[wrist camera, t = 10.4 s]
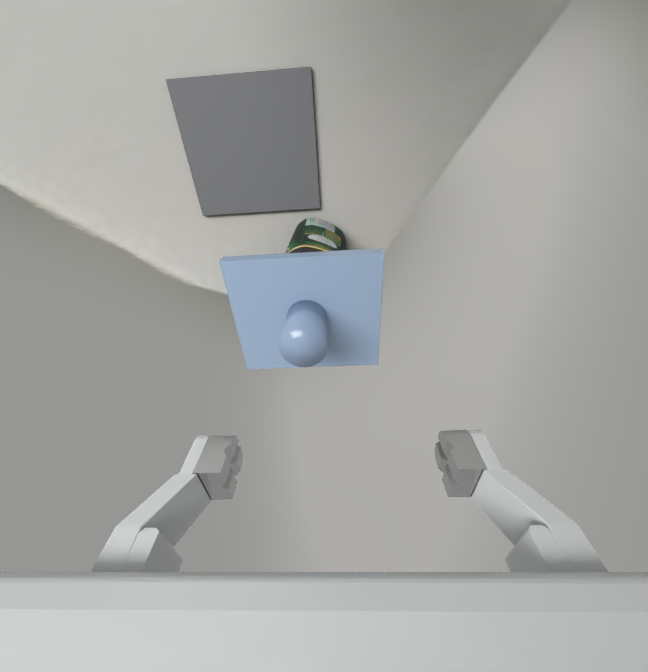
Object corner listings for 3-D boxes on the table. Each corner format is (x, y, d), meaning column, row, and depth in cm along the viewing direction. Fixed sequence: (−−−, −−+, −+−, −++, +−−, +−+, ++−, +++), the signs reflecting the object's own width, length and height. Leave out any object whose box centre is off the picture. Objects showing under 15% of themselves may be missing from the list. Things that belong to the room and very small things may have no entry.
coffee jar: (329, 289, 45) (328, 362, 29) (280, 272, 44) (253, 339, 28) (354, 230, 40) (370, 280, 24) (301, 208, 39) (281, 246, 23)
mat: (167, 80, 32) (165, 79, 31) (311, 67, 31) (310, 66, 30) (204, 215, 39) (202, 215, 39) (320, 207, 38) (320, 208, 38)
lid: (223, 256, 24) (196, 284, 19) (381, 248, 23) (396, 274, 18) (250, 361, 30) (234, 403, 25) (376, 356, 29) (385, 398, 24)
